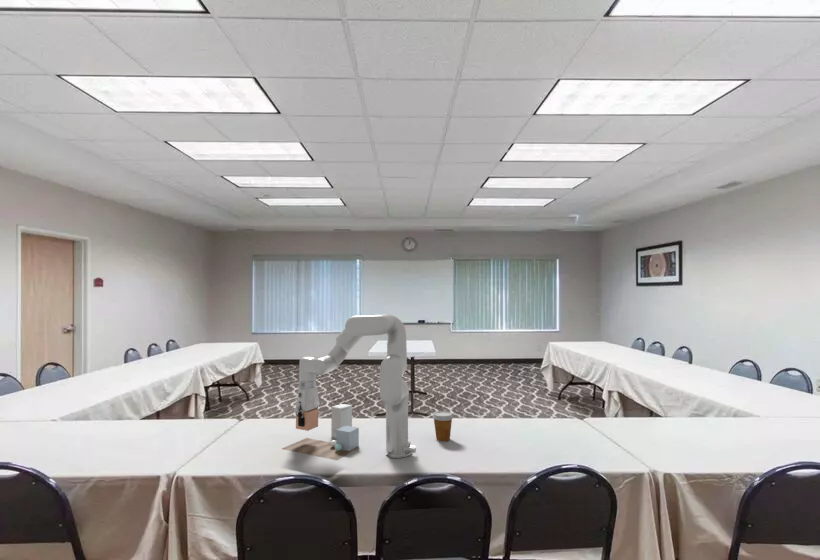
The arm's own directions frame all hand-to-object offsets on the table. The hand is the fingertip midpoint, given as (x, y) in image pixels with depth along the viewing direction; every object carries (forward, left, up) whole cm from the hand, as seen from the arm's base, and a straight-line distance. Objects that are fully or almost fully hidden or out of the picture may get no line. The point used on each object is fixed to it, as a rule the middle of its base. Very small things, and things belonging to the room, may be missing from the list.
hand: (307, 423), depth 190 cm
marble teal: (-20, +2, -8) cm, 22 cm away
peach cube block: (0, 0, -2) cm, 2 cm away
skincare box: (-8, -15, -10) cm, 20 cm away
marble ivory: (-15, -2, -6) cm, 17 cm away
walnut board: (-10, +3, -10) cm, 15 cm away
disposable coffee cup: (-52, -35, -10) cm, 64 cm away
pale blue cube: (-20, -3, -9) cm, 22 cm away
